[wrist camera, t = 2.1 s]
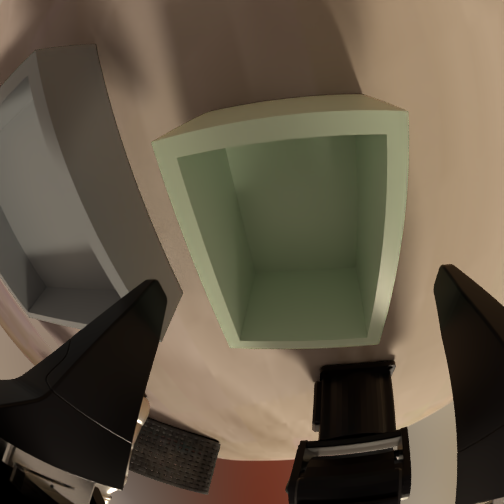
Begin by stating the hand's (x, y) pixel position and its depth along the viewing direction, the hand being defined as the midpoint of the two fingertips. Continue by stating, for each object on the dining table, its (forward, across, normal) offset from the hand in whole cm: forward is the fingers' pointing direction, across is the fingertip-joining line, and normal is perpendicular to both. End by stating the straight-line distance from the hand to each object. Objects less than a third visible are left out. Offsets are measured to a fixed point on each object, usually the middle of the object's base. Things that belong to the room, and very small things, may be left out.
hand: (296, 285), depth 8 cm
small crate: (+6, 0, 0) cm, 6 cm away
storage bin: (+6, +35, +52) cm, 63 cm away
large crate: (+6, +16, -2) cm, 17 cm away
